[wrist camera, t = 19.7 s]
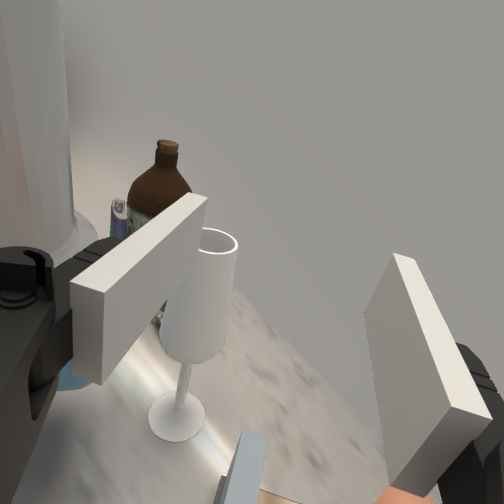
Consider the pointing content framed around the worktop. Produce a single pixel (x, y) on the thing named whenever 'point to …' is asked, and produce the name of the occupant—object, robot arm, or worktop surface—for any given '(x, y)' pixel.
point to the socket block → (271, 499)
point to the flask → (118, 219)
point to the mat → (221, 486)
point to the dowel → (401, 497)
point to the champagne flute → (195, 331)
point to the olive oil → (155, 188)
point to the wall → (245, 470)
